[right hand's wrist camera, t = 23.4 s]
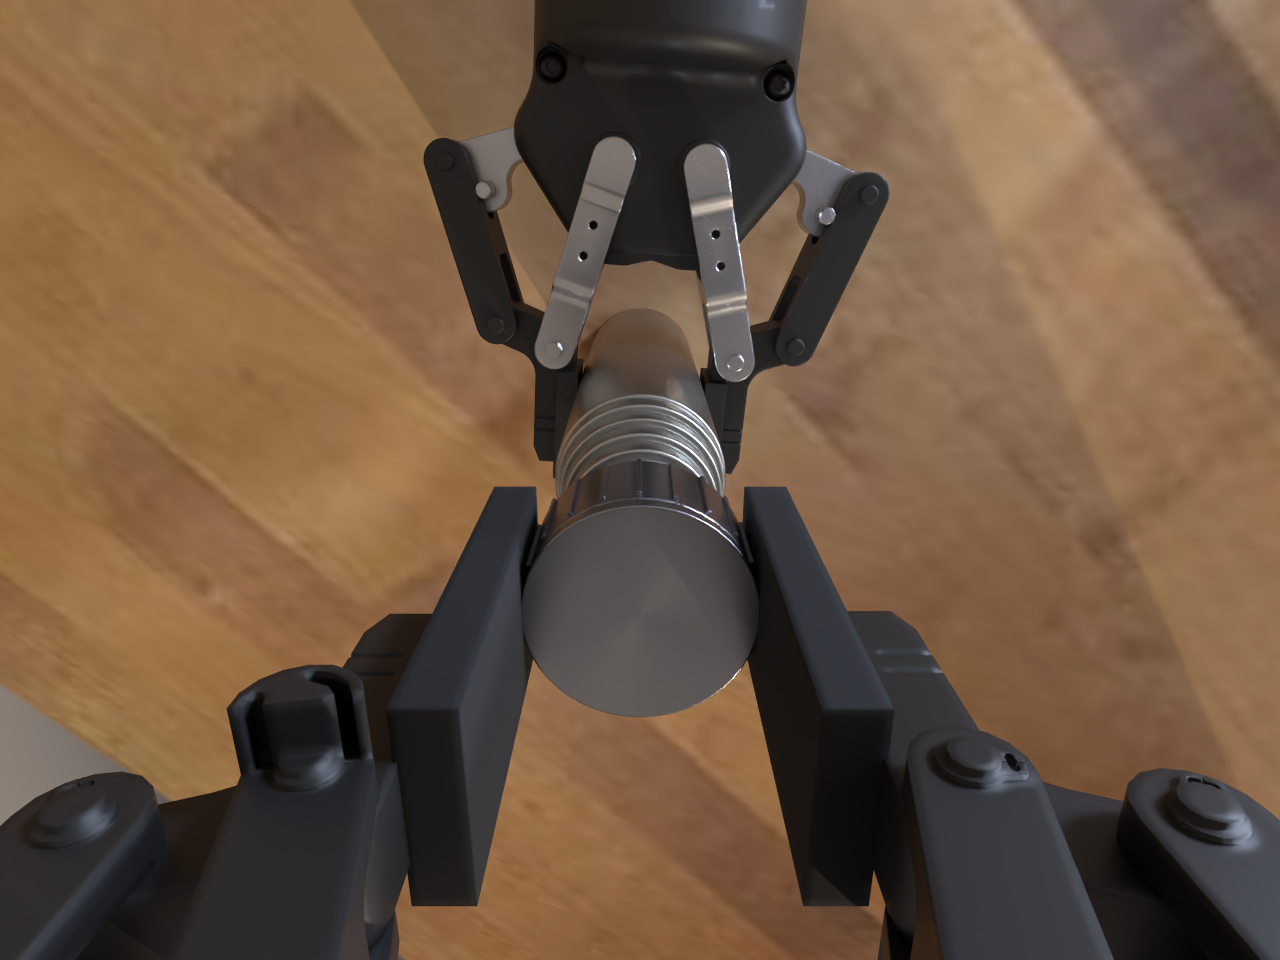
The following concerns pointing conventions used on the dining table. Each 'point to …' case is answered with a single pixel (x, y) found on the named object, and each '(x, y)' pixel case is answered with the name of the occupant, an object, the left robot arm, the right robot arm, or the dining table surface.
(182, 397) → the dining table surface
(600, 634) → the cap
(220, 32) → the dining table surface
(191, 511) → the dining table surface
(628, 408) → the bottle
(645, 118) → the left robot arm
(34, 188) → the dining table surface
